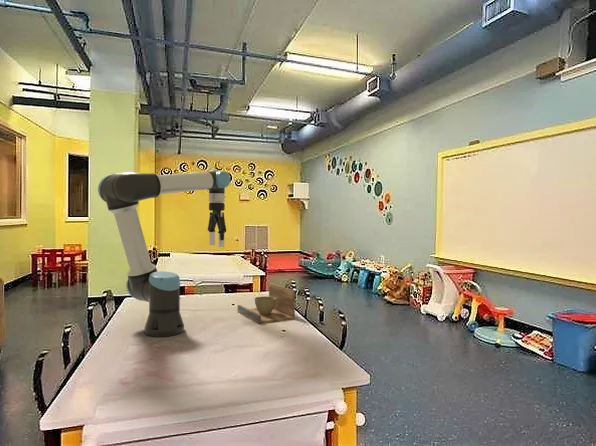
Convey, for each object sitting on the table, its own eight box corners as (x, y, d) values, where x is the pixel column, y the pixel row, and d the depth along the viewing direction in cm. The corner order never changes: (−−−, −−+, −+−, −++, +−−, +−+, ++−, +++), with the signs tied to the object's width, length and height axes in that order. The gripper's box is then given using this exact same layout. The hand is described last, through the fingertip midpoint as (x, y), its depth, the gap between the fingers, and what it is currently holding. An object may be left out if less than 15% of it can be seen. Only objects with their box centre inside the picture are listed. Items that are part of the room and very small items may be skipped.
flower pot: (274, 316, 189) (275, 300, 188) (253, 315, 189) (253, 300, 189) (276, 311, 199) (276, 296, 198) (255, 310, 199) (255, 296, 199)
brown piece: (258, 324, 179) (258, 294, 178) (237, 312, 199) (237, 285, 199) (294, 319, 188) (294, 290, 188) (270, 308, 209) (271, 282, 208)
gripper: (233, 202, 192) (233, 247, 193) (215, 203, 214) (215, 244, 214) (217, 201, 189) (217, 248, 189) (201, 202, 210) (201, 244, 211)
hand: (216, 246), depth 202 cm, fingers open, 13 cm apart
